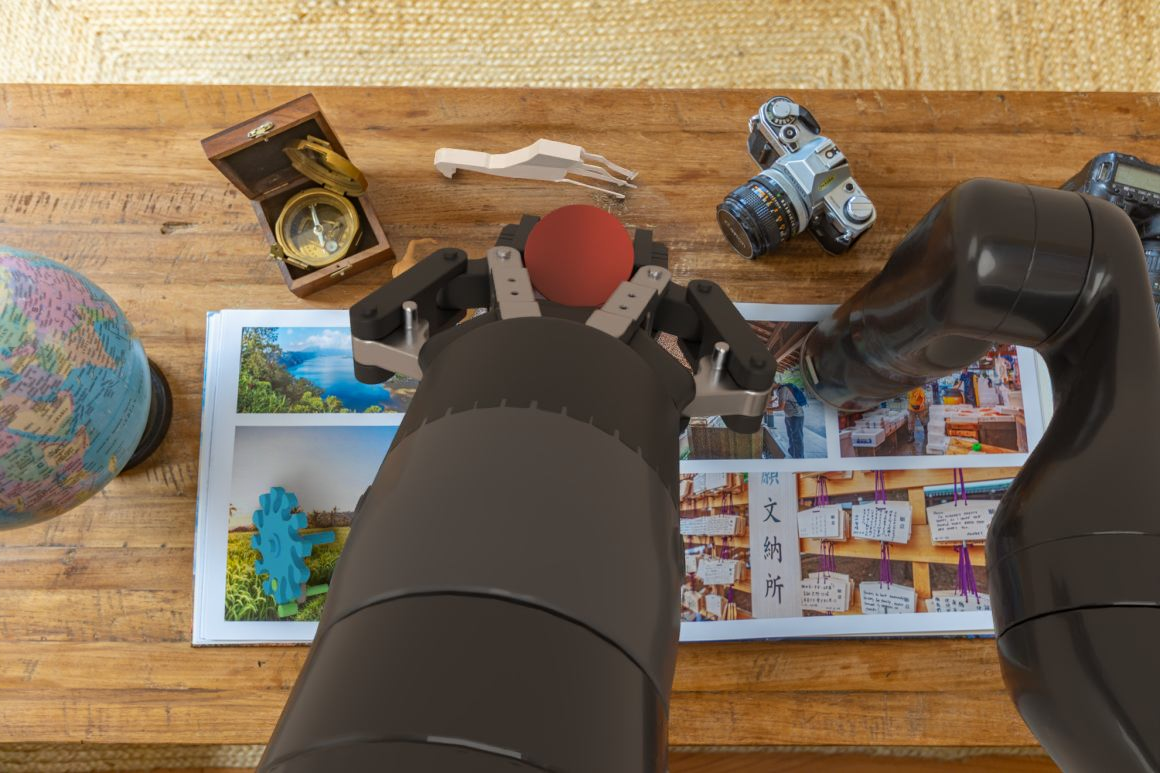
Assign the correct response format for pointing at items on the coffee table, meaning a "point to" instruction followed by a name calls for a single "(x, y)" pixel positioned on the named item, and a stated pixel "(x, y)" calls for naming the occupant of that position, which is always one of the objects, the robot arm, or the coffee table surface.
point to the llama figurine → (532, 163)
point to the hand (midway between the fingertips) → (586, 244)
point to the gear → (285, 550)
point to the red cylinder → (578, 256)
